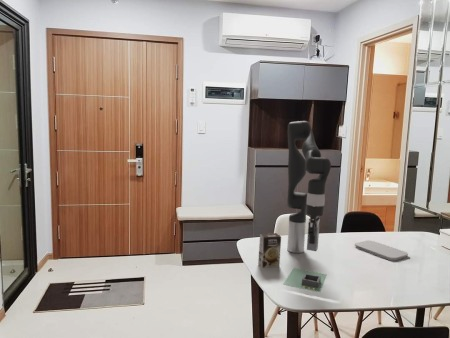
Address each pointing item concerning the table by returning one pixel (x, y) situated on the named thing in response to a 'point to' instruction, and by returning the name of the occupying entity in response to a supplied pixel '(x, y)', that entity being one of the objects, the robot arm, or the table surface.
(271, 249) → the coffee box
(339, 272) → the table surface
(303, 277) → the board
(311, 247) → the plug
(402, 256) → the tablet
